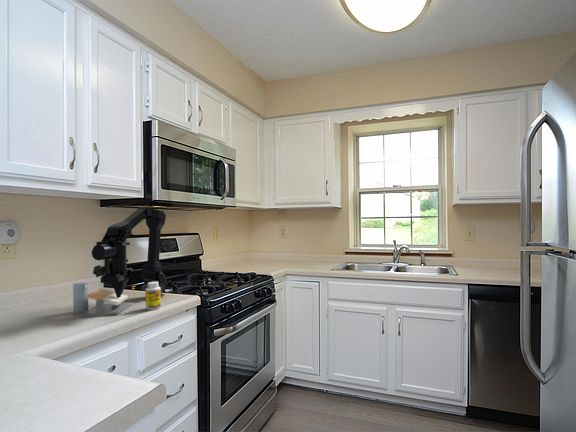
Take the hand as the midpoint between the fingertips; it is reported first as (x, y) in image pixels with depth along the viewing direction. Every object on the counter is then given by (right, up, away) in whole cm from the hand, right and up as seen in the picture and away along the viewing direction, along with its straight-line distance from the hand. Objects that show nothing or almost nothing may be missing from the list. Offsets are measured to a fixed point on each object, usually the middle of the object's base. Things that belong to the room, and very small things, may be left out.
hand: (118, 297), depth 132 cm
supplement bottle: (+13, -5, +1) cm, 14 cm away
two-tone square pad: (-4, -1, 0) cm, 4 cm away
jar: (-14, -5, -2) cm, 15 cm away
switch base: (-4, -5, -1) cm, 6 cm away
